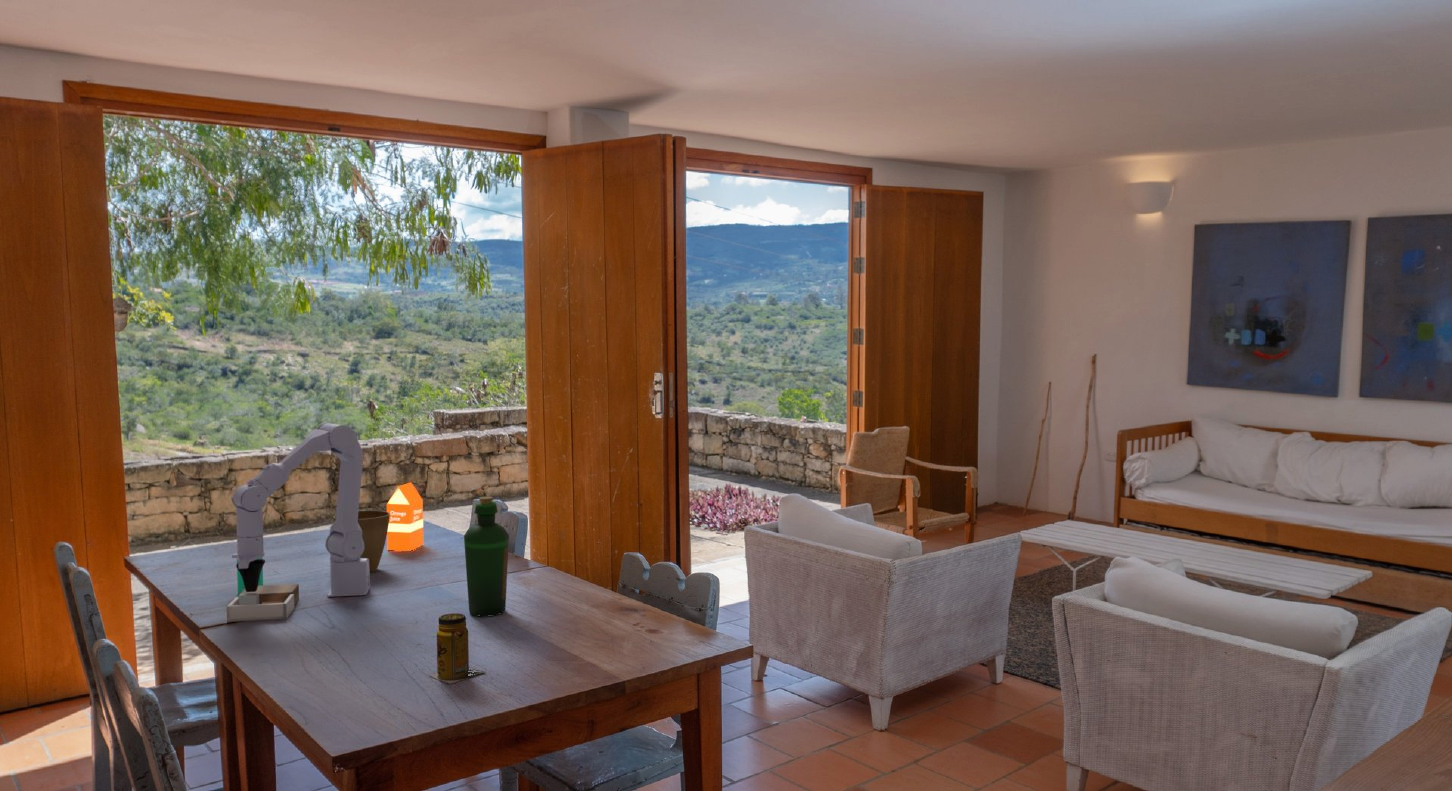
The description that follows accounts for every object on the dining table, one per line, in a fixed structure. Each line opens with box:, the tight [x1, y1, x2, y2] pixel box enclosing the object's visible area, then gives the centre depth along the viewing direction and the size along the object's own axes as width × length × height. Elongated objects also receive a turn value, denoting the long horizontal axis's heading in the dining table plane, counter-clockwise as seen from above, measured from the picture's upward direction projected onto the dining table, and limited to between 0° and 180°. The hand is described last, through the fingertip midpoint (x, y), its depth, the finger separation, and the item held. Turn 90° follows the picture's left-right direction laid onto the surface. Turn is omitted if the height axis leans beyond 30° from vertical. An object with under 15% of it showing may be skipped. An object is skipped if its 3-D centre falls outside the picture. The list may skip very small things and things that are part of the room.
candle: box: [236, 557, 264, 596], centre depth 258 cm, size 6×6×12 cm
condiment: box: [428, 612, 486, 684], centre depth 199 cm, size 7×8×12 cm
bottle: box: [463, 496, 510, 617], centre depth 241 cm, size 11×11×28 cm
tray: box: [226, 594, 295, 623], centre depth 239 cm, size 13×9×4 cm, turn 102°
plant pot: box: [333, 509, 390, 573], centre depth 282 cm, size 15×15×16 cm
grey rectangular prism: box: [238, 593, 259, 605], centre depth 240 cm, size 4×4×2 cm
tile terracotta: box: [262, 601, 283, 604], centre depth 238 cm, size 4×4×2 cm
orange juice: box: [386, 481, 424, 552], centre depth 310 cm, size 8×9×20 cm
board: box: [238, 583, 300, 607], centre depth 247 cm, size 12×8×4 cm, turn 102°
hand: (251, 591), depth 242 cm, fingers closed
